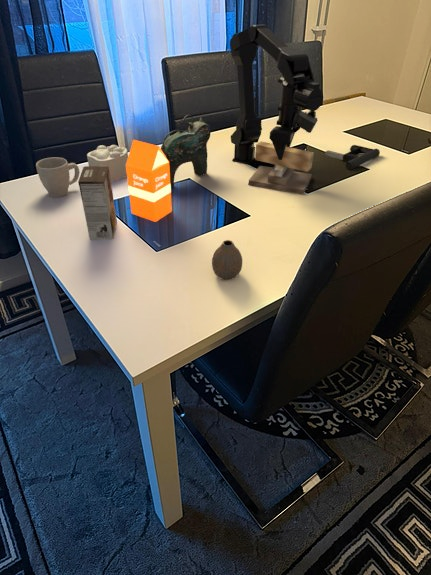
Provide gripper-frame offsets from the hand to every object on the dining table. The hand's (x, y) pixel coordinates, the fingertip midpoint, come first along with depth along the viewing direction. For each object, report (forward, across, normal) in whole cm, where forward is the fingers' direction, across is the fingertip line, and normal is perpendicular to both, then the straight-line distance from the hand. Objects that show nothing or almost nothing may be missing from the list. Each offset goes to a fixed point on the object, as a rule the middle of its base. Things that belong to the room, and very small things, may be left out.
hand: (283, 154), depth 131 cm
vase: (+9, -55, -1) cm, 56 cm away
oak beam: (+3, 0, 0) cm, 3 cm away
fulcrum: (+9, 0, 0) cm, 9 cm away
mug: (+9, -34, +60) cm, 70 cm away
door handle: (+10, +30, -19) cm, 37 cm away
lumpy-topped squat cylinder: (+9, -16, +54) cm, 57 cm away
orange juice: (+9, -35, +29) cm, 46 cm away
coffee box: (+9, -49, +36) cm, 61 cm away
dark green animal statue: (+9, -11, +29) cm, 32 cm away
